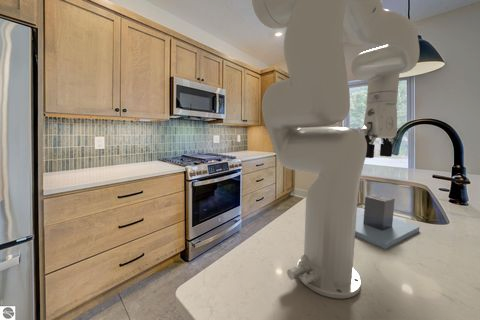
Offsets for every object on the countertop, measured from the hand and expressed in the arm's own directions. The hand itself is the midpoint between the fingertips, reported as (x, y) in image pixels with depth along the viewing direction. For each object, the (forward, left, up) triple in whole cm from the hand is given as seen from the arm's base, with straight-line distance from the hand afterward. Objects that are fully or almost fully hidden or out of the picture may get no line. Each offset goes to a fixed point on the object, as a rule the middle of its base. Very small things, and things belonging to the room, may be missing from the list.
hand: (376, 156), depth 62 cm
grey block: (0, -1, -22) cm, 22 cm away
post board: (0, -2, -23) cm, 23 cm away
